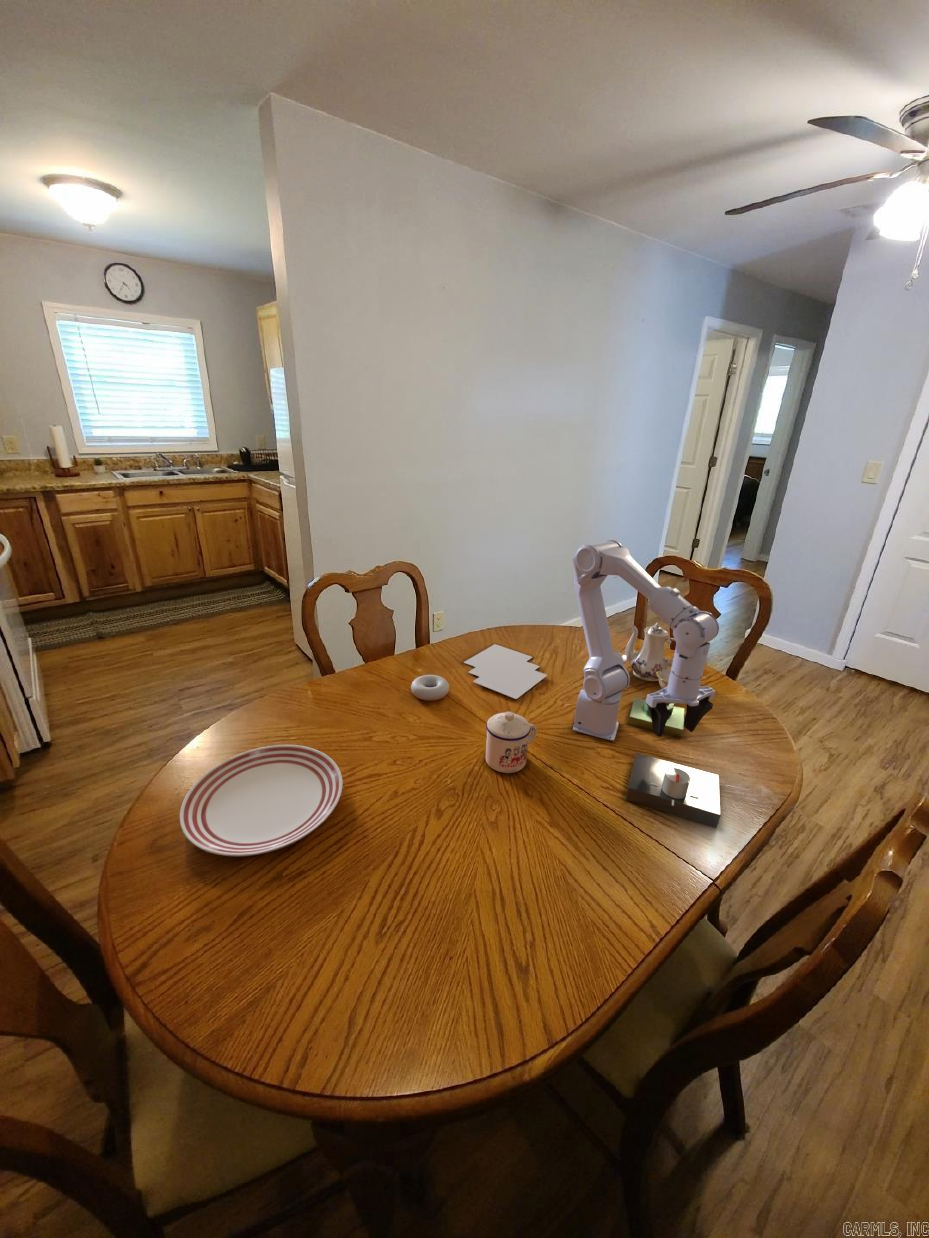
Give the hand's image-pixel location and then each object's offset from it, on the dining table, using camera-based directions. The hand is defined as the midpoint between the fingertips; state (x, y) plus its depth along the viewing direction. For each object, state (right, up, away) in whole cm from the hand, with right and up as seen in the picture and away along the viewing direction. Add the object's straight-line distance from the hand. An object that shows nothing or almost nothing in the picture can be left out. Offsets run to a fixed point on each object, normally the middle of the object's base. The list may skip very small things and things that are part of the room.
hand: (672, 731), depth 102 cm
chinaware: (+8, +6, +40) cm, 41 cm away
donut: (-52, +4, +28) cm, 59 cm away
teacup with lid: (-33, -7, +4) cm, 34 cm away
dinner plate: (-79, -11, -10) cm, 81 cm away
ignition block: (+4, -2, +20) cm, 20 cm away
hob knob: (-3, -9, -8) cm, 13 cm away
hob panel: (-2, -11, -4) cm, 12 cm away
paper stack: (-31, +8, +41) cm, 52 cm away
